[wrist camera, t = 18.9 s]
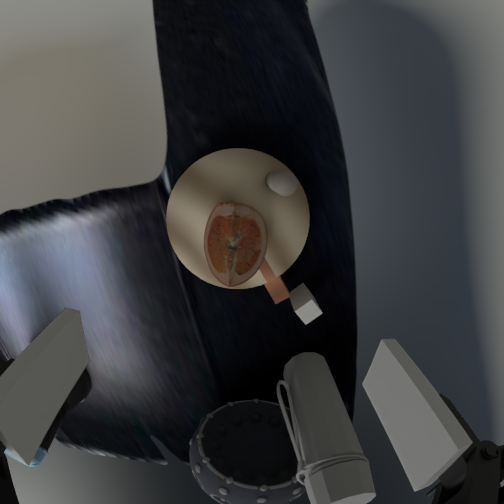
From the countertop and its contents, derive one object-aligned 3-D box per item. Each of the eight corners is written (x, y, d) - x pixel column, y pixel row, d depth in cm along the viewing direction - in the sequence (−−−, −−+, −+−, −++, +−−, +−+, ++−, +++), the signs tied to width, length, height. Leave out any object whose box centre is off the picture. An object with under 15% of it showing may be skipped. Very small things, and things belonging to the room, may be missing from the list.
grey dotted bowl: (196, 387, 42) (181, 490, 22) (312, 393, 43) (341, 488, 24) (196, 424, 45) (186, 512, 26) (298, 428, 46) (317, 512, 27)
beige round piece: (260, 315, 37) (267, 361, 27) (146, 226, 33) (113, 248, 23) (344, 226, 34) (381, 248, 24) (230, 122, 30) (227, 102, 20)
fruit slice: (208, 195, 29) (201, 200, 25) (270, 200, 30) (275, 206, 25) (203, 268, 32) (197, 285, 27) (261, 273, 32) (265, 291, 27)
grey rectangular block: (288, 293, 37) (294, 311, 32) (303, 282, 37) (311, 299, 32) (298, 306, 38) (305, 324, 33) (312, 295, 37) (322, 313, 33)
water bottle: (335, 351, 41) (395, 485, 17) (313, 386, 43) (352, 513, 19) (282, 340, 39) (318, 496, 15) (263, 377, 41) (280, 520, 17)
